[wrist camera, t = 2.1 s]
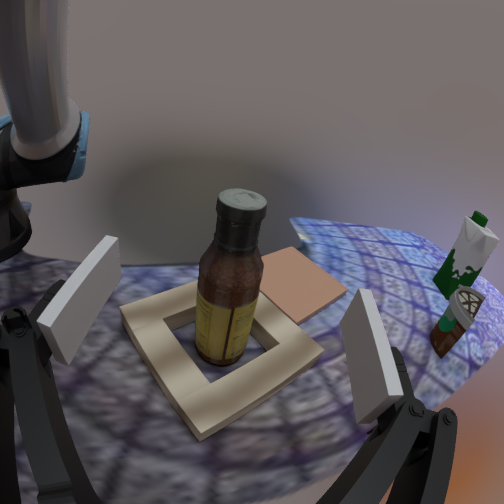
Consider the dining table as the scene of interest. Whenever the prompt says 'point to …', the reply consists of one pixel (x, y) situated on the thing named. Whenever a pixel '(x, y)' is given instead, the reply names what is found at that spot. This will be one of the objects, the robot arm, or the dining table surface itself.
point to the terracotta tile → (298, 285)
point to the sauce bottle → (230, 278)
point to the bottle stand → (230, 386)
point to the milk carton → (466, 255)
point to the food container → (456, 319)
